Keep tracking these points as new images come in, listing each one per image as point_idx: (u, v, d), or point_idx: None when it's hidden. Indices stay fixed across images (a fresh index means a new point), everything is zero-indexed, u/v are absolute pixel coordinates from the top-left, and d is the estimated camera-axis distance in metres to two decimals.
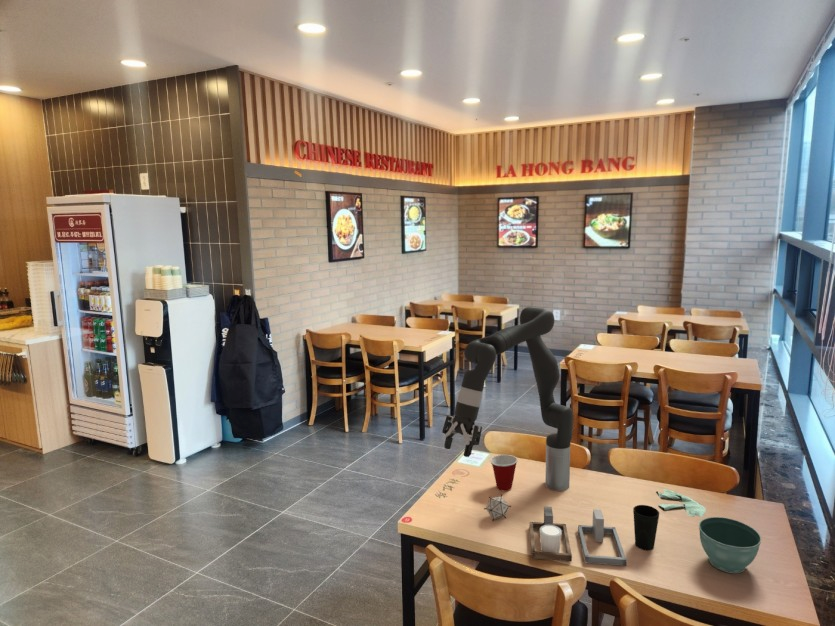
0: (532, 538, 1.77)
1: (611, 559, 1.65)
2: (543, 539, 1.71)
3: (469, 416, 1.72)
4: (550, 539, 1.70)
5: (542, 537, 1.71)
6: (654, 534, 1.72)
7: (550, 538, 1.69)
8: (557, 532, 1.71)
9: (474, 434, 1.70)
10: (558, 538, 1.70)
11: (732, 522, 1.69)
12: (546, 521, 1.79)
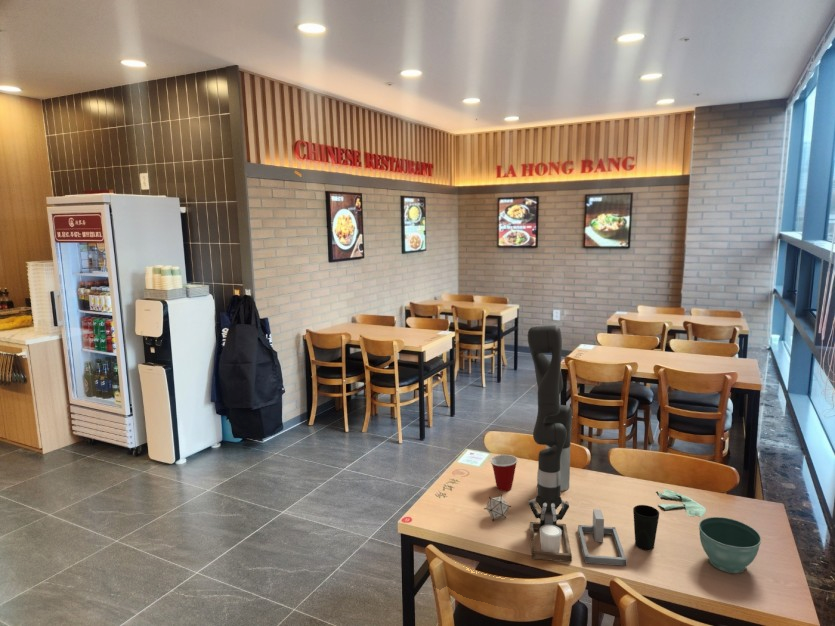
0: (532, 538, 1.77)
1: (611, 559, 1.65)
2: (543, 539, 1.71)
3: (559, 495, 1.78)
4: (550, 539, 1.70)
5: (542, 537, 1.71)
6: (654, 534, 1.72)
7: (550, 538, 1.69)
8: (557, 532, 1.71)
9: (564, 512, 1.80)
10: (558, 538, 1.70)
11: (732, 522, 1.69)
12: (546, 521, 1.79)
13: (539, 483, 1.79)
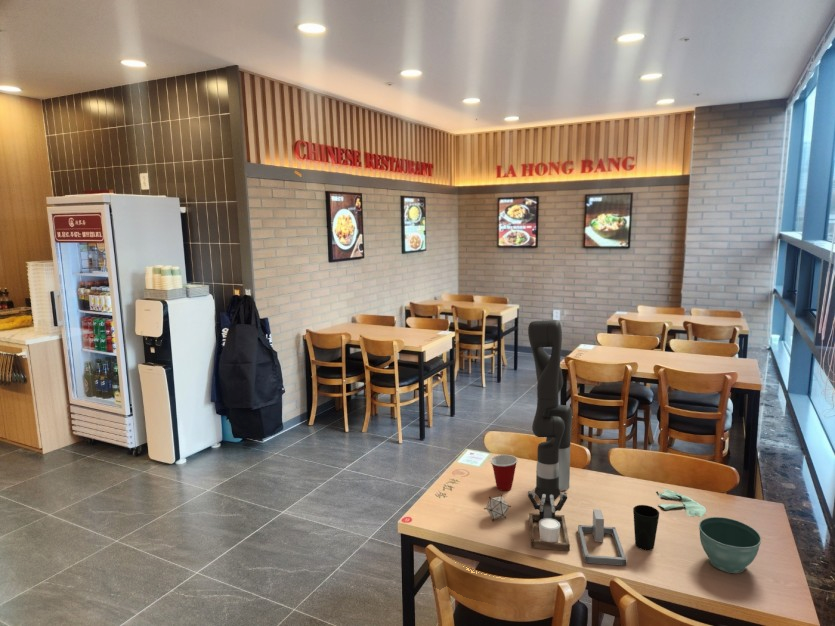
0: (531, 528, 1.82)
1: (611, 559, 1.65)
2: (542, 532, 1.75)
3: (557, 486, 1.84)
4: (549, 532, 1.73)
5: (541, 530, 1.75)
6: (654, 534, 1.72)
7: (550, 530, 1.73)
8: (556, 525, 1.75)
9: (562, 503, 1.85)
10: (557, 531, 1.74)
11: (732, 522, 1.69)
12: (545, 512, 1.85)
13: (538, 475, 1.84)
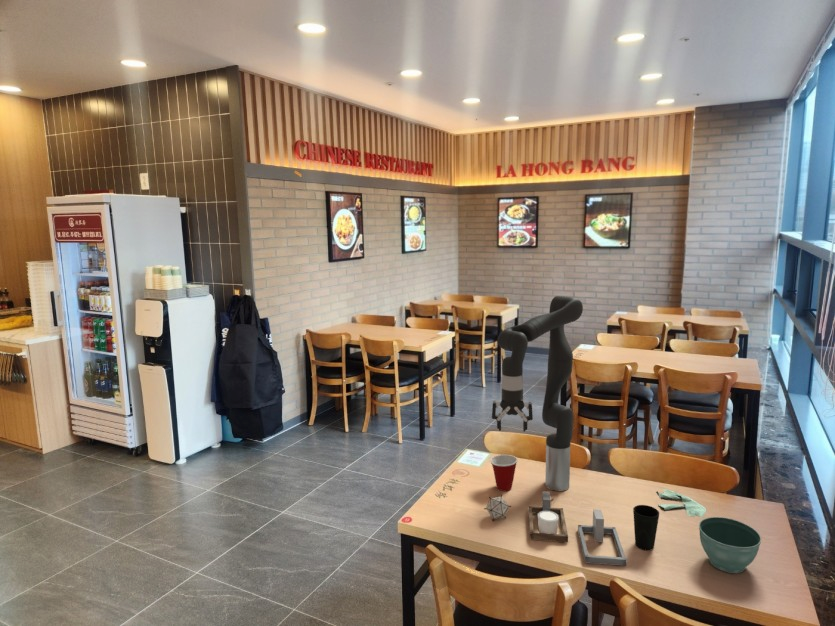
0: (531, 521, 1.87)
1: (611, 559, 1.65)
2: (541, 524, 1.79)
3: (521, 398, 1.90)
4: (548, 524, 1.78)
5: (540, 522, 1.80)
6: (654, 534, 1.72)
7: (549, 522, 1.78)
8: (554, 517, 1.80)
9: (530, 411, 1.91)
10: (556, 523, 1.79)
11: (732, 522, 1.69)
12: (544, 505, 1.89)
13: (503, 388, 1.91)
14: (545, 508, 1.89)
